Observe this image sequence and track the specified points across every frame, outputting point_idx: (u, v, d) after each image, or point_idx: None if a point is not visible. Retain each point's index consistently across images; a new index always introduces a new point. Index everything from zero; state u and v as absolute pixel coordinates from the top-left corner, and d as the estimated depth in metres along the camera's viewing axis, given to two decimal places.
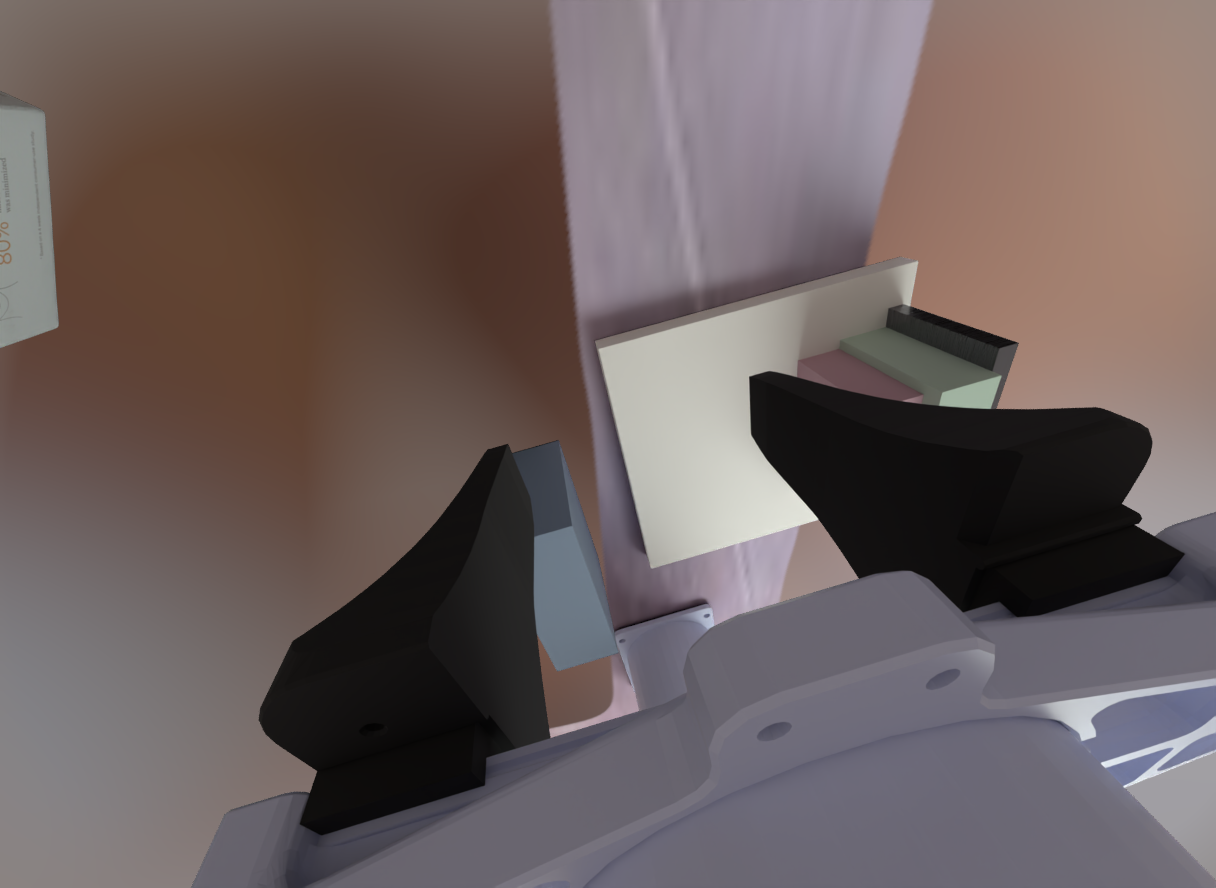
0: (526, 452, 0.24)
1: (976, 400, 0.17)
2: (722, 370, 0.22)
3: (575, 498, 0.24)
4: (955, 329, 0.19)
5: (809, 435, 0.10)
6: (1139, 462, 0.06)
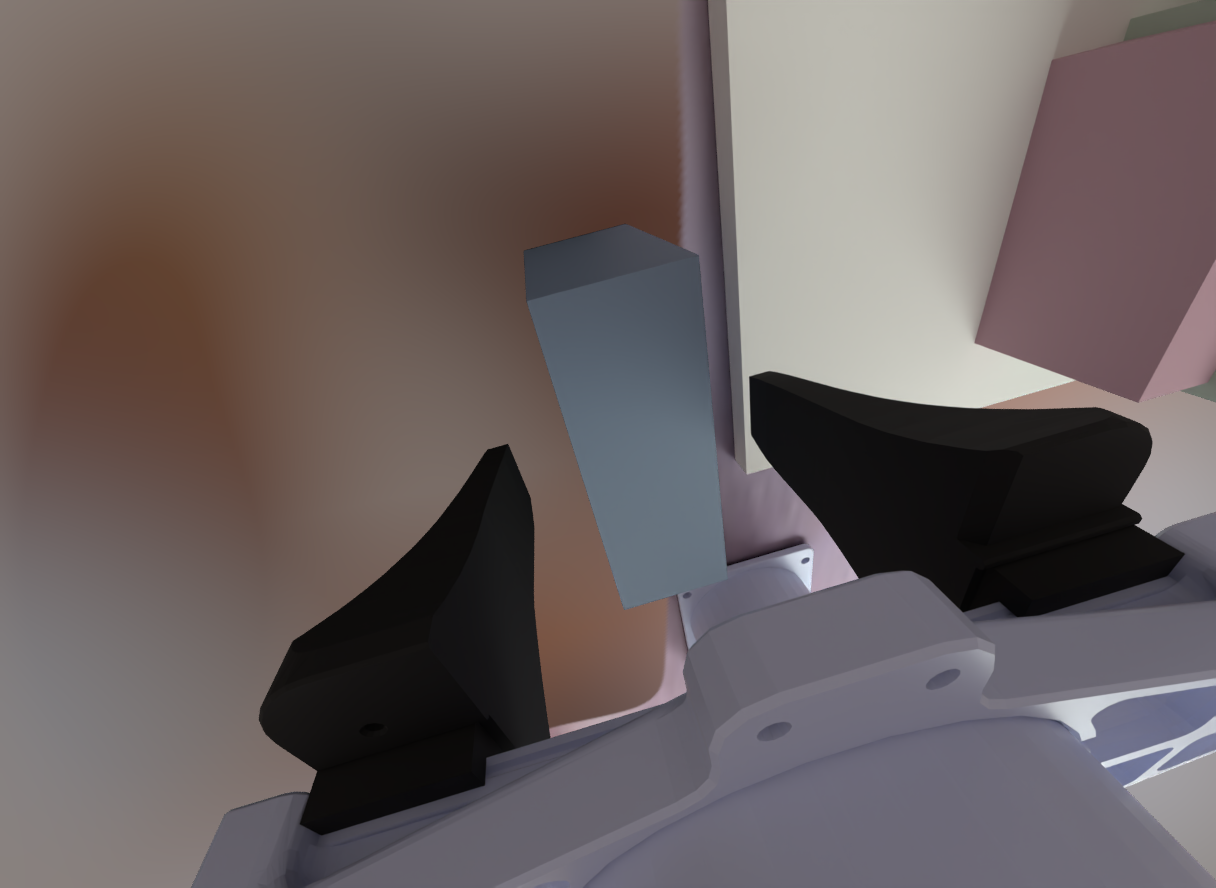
0: (572, 239, 0.14)
1: None
2: (927, 64, 0.12)
3: None
4: None
5: (809, 435, 0.10)
6: (1139, 462, 0.06)
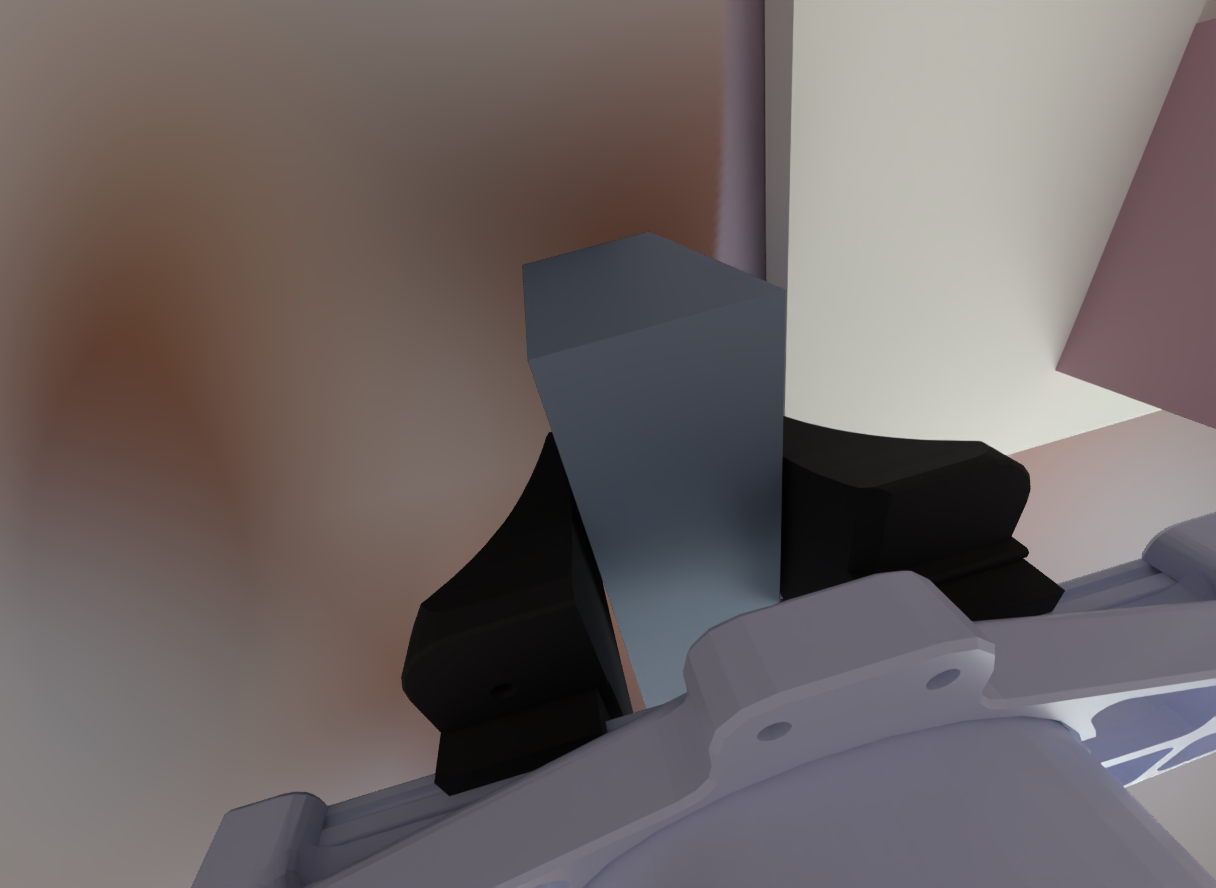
0: (584, 250, 0.11)
1: None
2: (1043, 27, 0.10)
3: None
4: None
5: None
6: (1019, 497, 0.06)
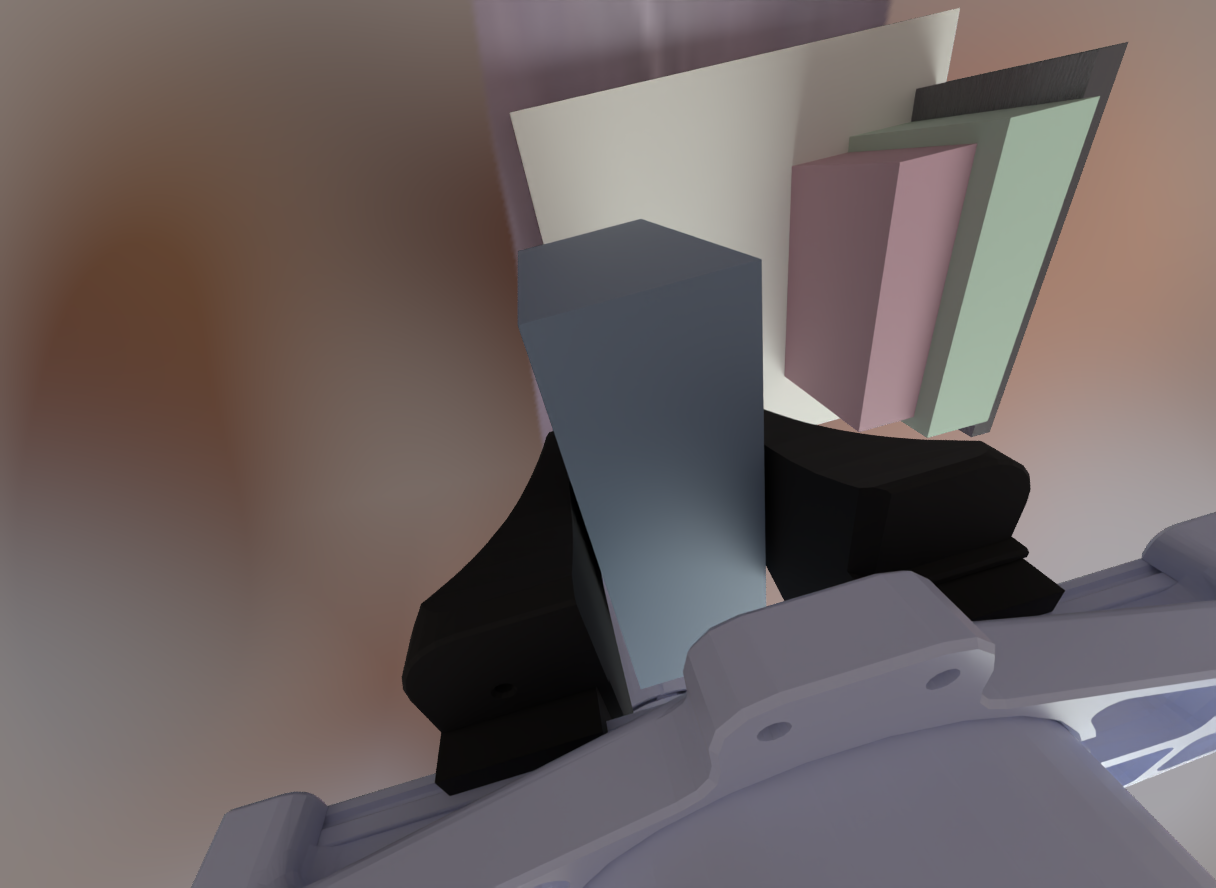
0: (577, 237, 0.11)
1: (1057, 144, 0.12)
2: (688, 170, 0.16)
3: None
4: None
5: None
6: (1019, 497, 0.06)
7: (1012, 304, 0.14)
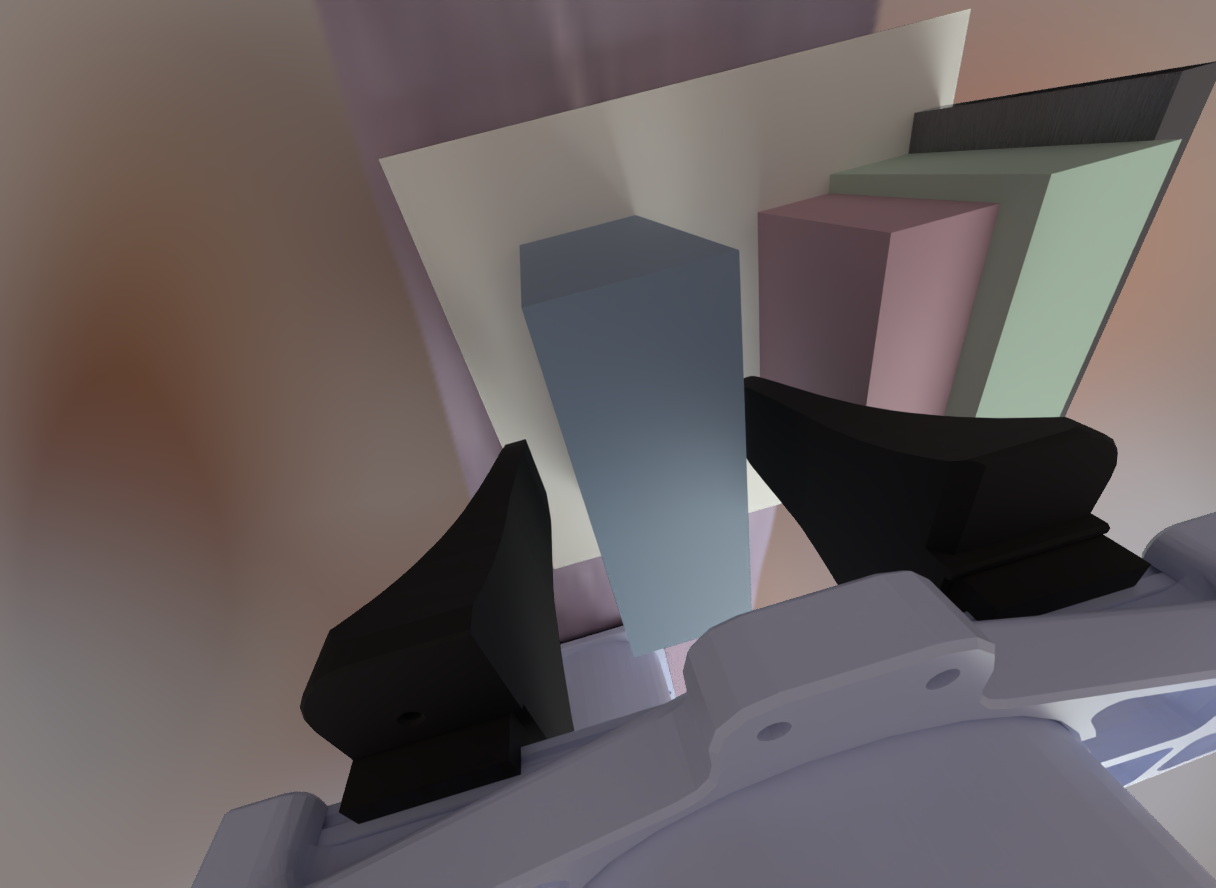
0: (576, 232, 0.12)
1: (1116, 205, 0.08)
2: None
3: None
4: (1056, 90, 0.09)
5: (789, 441, 0.10)
6: (1105, 472, 0.06)
7: (1044, 404, 0.11)
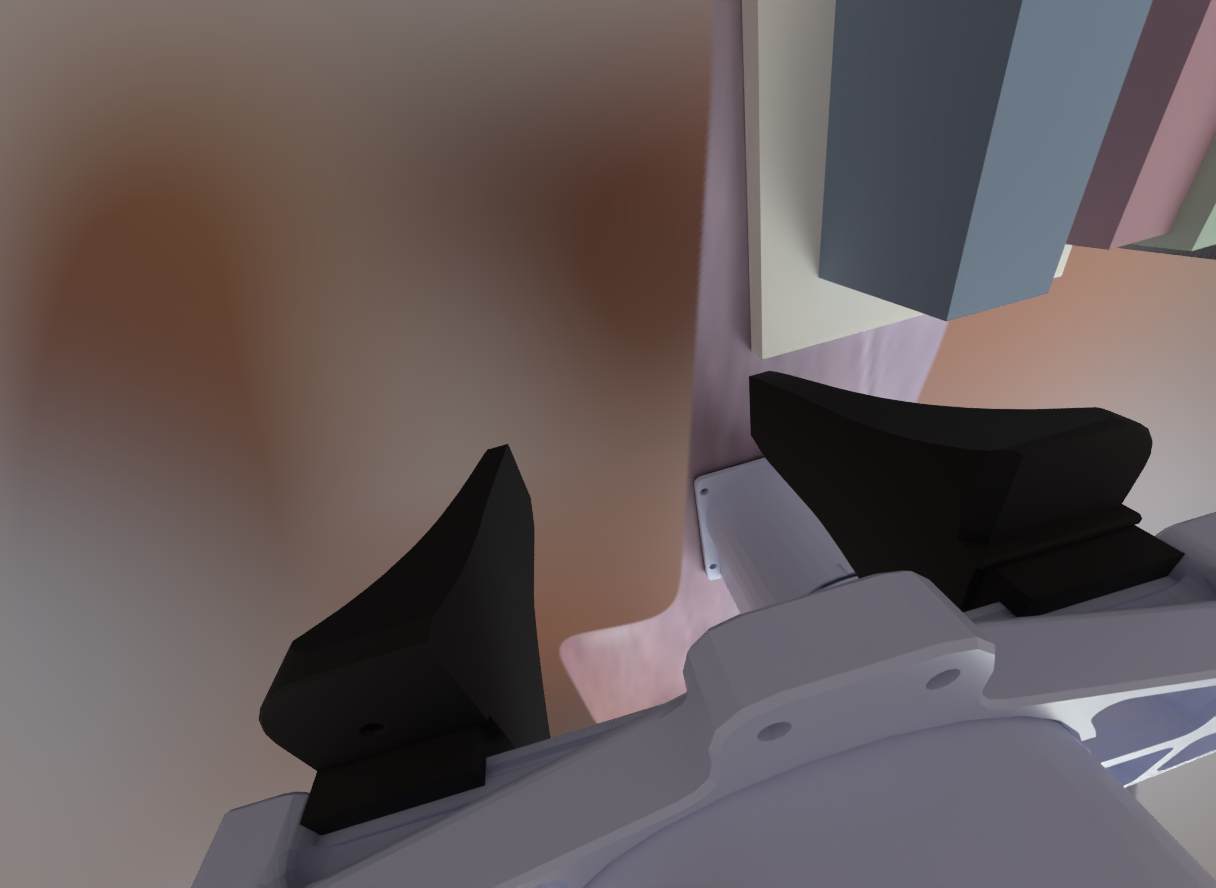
0: None
1: None
2: None
3: None
4: None
5: (809, 435, 0.10)
6: (1139, 462, 0.06)
7: None
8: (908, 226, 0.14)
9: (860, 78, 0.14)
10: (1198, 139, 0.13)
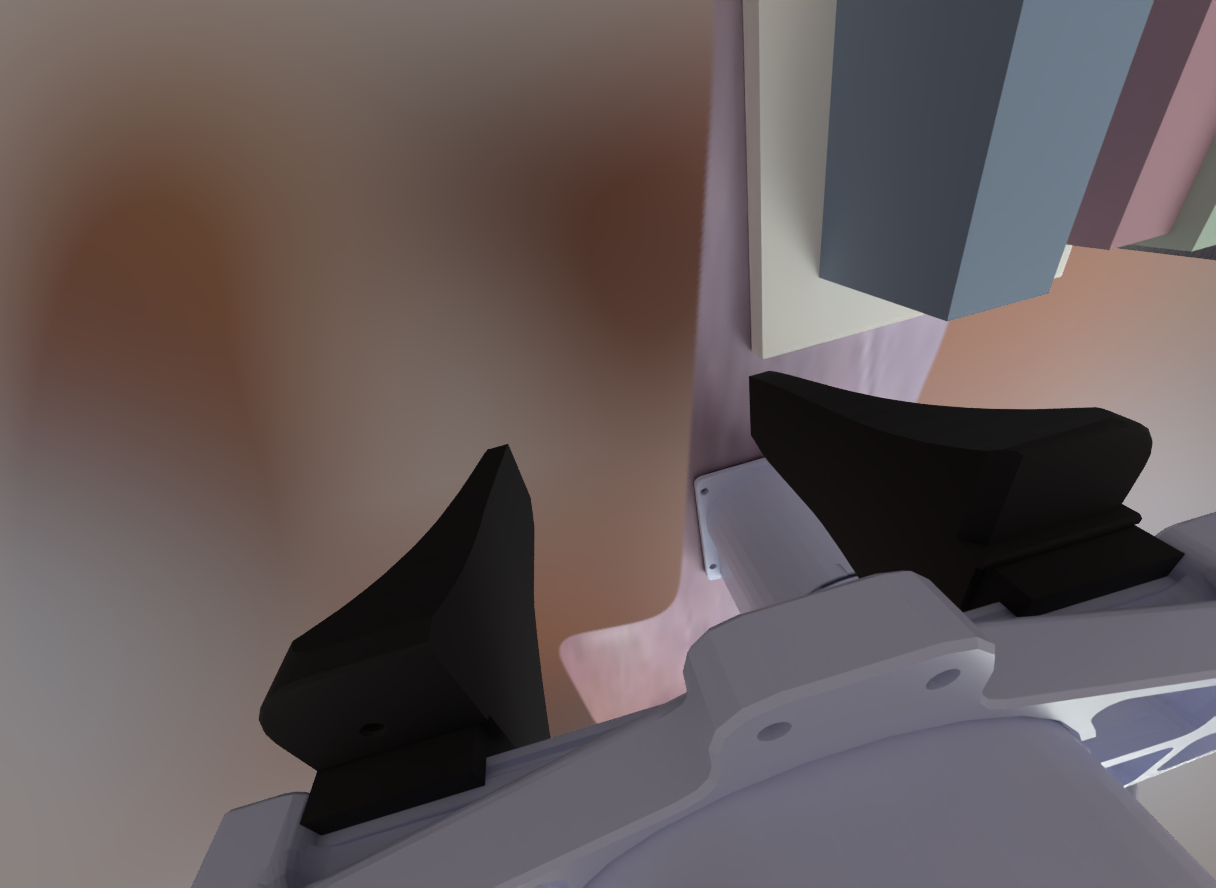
0: None
1: None
2: None
3: None
4: None
5: (809, 435, 0.10)
6: (1139, 462, 0.06)
7: None
8: (909, 226, 0.14)
9: (861, 78, 0.14)
10: (1199, 139, 0.13)
